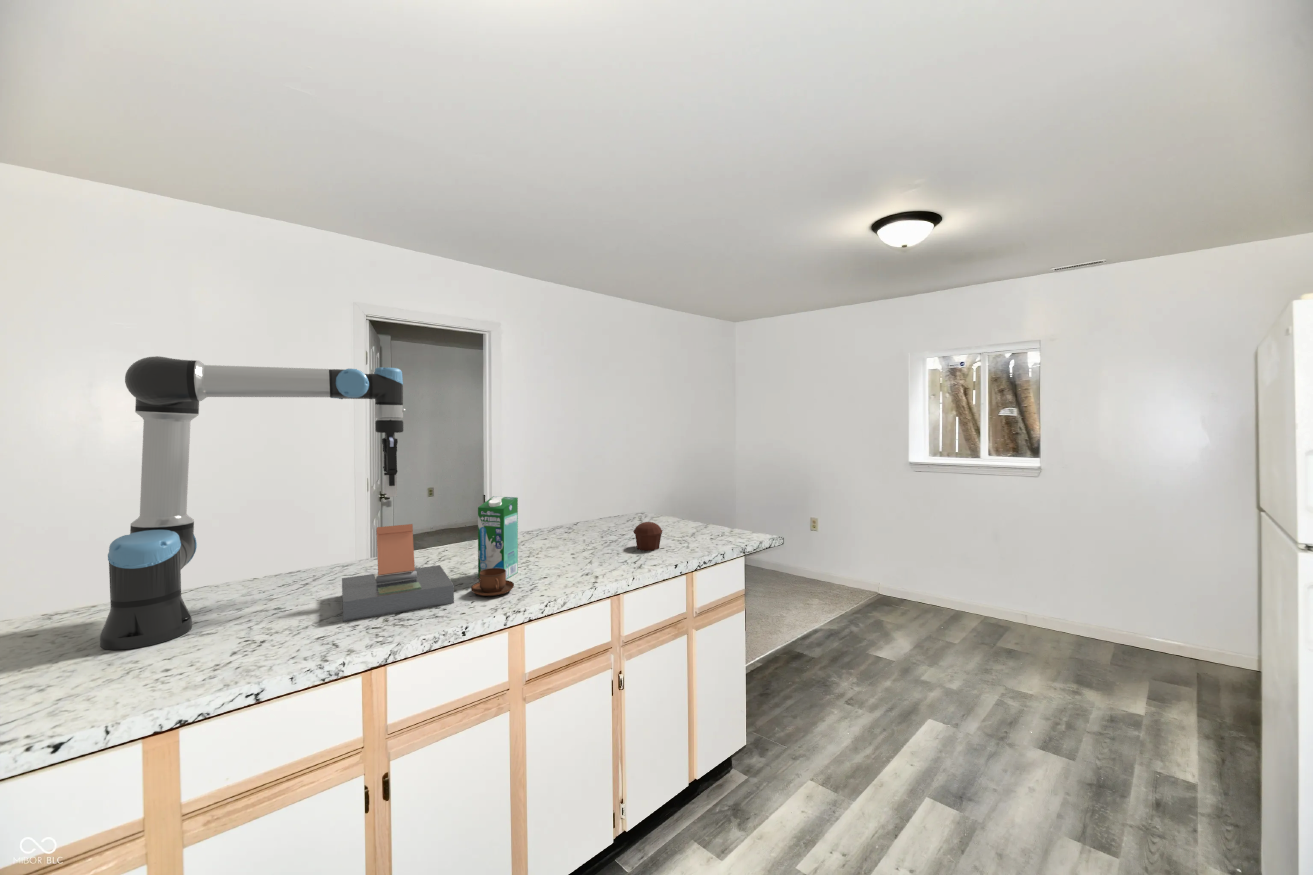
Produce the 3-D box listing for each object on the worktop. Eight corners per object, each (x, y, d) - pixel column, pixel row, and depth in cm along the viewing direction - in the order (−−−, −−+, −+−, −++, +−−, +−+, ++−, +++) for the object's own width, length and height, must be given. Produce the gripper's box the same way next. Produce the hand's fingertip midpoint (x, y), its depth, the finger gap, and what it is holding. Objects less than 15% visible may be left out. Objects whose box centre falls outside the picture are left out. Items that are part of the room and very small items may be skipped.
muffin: (650, 542, 213) (650, 518, 213) (668, 548, 205) (668, 523, 204) (627, 547, 205) (627, 522, 205) (644, 553, 197) (645, 527, 197)
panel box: (342, 595, 148) (341, 577, 148) (439, 580, 162) (439, 564, 161) (343, 621, 129) (343, 600, 129) (453, 602, 143) (453, 583, 143)
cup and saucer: (522, 591, 153) (522, 570, 153) (486, 602, 144) (486, 580, 144) (498, 583, 161) (498, 563, 160) (462, 593, 151) (462, 572, 151)
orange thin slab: (376, 584, 144) (374, 529, 147) (415, 578, 149) (413, 525, 153) (377, 583, 141) (375, 527, 145) (417, 577, 146) (414, 523, 150)
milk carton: (477, 578, 164) (477, 499, 163) (493, 570, 173) (493, 495, 172) (503, 580, 162) (503, 501, 161) (518, 572, 171) (517, 496, 170)
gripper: (407, 419, 150) (408, 498, 151) (399, 419, 167) (400, 489, 168) (377, 419, 146) (378, 500, 147) (373, 419, 163) (374, 491, 164)
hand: (390, 494), depth 158 cm, fingers open, 8 cm apart
